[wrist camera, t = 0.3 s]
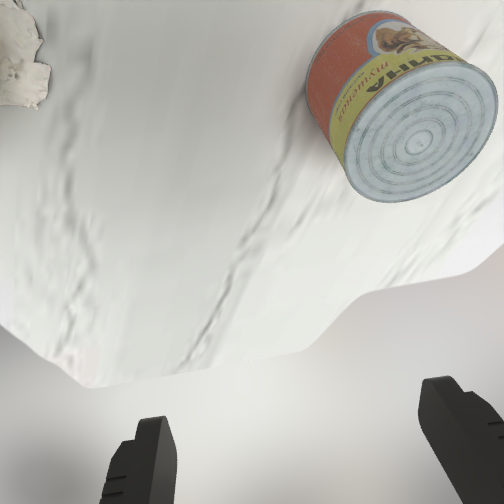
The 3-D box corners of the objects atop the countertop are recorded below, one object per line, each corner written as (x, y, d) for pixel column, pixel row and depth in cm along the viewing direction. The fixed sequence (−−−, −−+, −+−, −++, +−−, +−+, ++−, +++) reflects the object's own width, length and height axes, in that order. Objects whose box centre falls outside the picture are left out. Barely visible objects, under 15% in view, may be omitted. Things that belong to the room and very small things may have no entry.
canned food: (441, 11, 32) (532, 61, 24) (397, 131, 40) (455, 199, 32) (316, 9, 30) (368, 62, 22) (297, 134, 39) (330, 206, 30)
